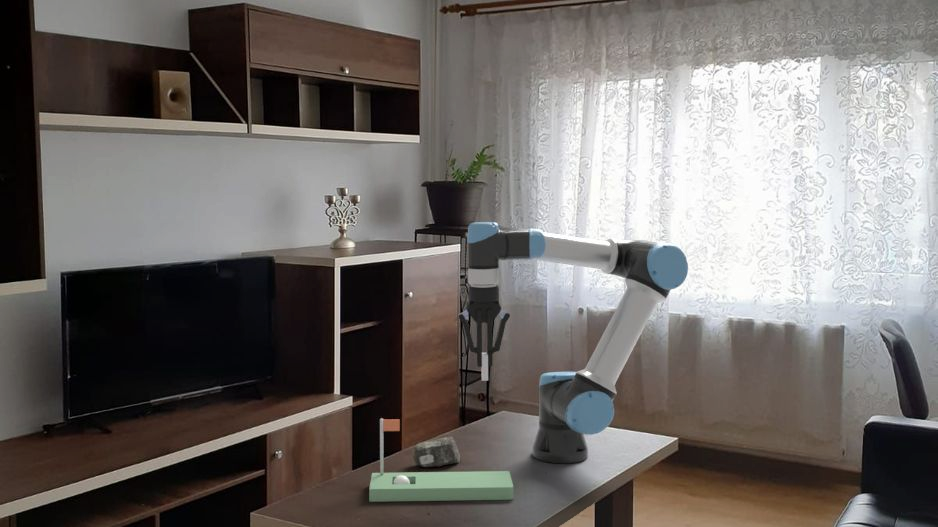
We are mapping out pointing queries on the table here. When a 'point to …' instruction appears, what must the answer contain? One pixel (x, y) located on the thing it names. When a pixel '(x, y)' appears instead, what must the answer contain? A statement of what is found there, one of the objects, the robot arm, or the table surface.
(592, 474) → the table surface
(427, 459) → the stone
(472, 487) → the green
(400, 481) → the ball
